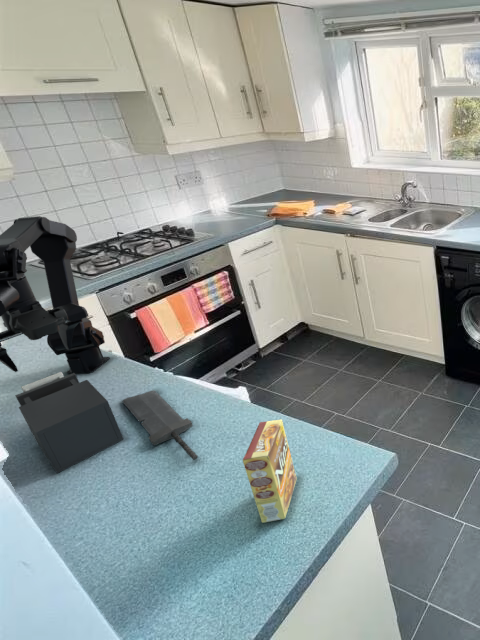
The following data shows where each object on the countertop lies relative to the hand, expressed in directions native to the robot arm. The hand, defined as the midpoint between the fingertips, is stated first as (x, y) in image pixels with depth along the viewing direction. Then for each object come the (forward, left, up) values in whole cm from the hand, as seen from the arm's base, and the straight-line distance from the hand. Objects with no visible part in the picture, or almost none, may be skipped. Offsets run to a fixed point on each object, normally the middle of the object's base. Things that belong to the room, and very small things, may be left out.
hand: (43, 359), depth 97 cm
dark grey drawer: (+7, +6, -12) cm, 15 cm away
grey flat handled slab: (+10, +28, -13) cm, 33 cm away
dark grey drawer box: (+13, +13, -13) cm, 23 cm away
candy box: (+33, +61, -13) cm, 71 cm away
